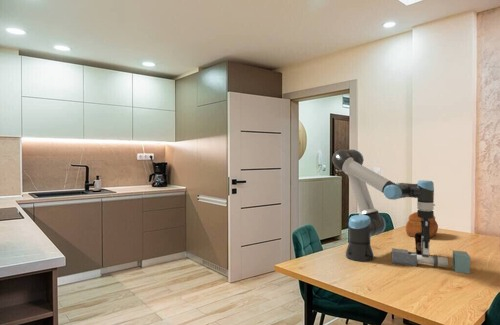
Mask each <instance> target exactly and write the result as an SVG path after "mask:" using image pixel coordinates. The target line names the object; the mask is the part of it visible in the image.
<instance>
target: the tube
mask: <svg viewBox="0 0 500 325" xmlns="http://www.w3.org/2000/svg"><path fill="white" fill-rule="evenodd" d="M422 240H424V238H422ZM411 255H415V254H411ZM448 259H449V258H448V257H440V256H438V255H437V254H434V255H432V256H431V255H430V254H429V255H426V254H423V242H422V255H417V264H418V263H419V264H427V265H433V267H438V266H445V267H448V266H449V263H448V262H449V261H448Z"/></svg>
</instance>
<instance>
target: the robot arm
mask: <svg viewBox="0 0 500 325" xmlns="http://www.w3.org/2000/svg"><path fill="white" fill-rule="evenodd" d="M331 160H332V164H333V166H334V167H335V168H337V169H338V170H340V171H341V172H343V173H344V174H345V175H347V176H348V179H349V182H350V186H351V189H352V191H353V194H354V198H355V200H356V204H357V207H358V209H359V213H358V214H355V215H351V216H350V217H349V219H348V244H347V247H346V250H345V258H347V259H348V260H352V261H355V262H370V261H373V260H374V258H375V257H374V256H375V255H374V252H373V249H372V246H371V237H374V236H378V235H379V234H382V233H383V232H384V231H385V229H386V226H387V225H386V224H387V223H386V220H385V218H384V217H383V216H382V215H381V214H379V210H378V209H376V208H375V207H374V204H373V201H372V198H371V195H370V192H369V190H368V188H369V187H368V185H369V186H371V187H372V188H374V189H375V190H378V191H380V192H381V193H382V194H383V195H384V196H385V198H386V199H388V200H394V201H395V200H400V199H402V198H403V199H405V198H413V199H417V202H416V203H417V204H416V205H417V211H416V212H417V216H418V217H420V218H422V220H421V227H422V230H421V233H422V234H421V235H423V236H422V237H421V248H422V242H423V254H426V255H429V256H430V241H431V237H430V235H429V229H430V222H429V221H428V219H429V218H430V219H431V218H433V217H434V216H435V213H434V209H435V208H434V207H436V204H435V202H434V199H435V198H434V197H435V186H434V185H435V184H434V181H432V180H428V179H427V180H425V179H424V180H421V179H420V180H417V183H409V182H408V183H407V182H397V183H395V182H394V181H391V180H390V179H388V178H386V177H384V176H383V175H380V174H379V173H378V172H375V171H374V170H372V169H370V168H368V167H367V166H364V165H363V163H364V155H363V153H361V152H360V151H359V150H357V149H339V150H337V151H335V152H334V153H333V154H332V157H331ZM422 238H424V240H422Z"/></svg>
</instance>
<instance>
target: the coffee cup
mask: <svg viewBox="0 0 500 325" xmlns="http://www.w3.org/2000/svg"><path fill="white" fill-rule="evenodd" d="M421 234H422V233H421V232H418V233H416V234H415V237H414V242H415V252H416V255H422V248H421V237H422V236H423V235H421ZM430 238H432V237H431V236H430Z"/></svg>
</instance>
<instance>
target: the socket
mask: <svg viewBox="0 0 500 325" xmlns="http://www.w3.org/2000/svg"><path fill="white" fill-rule="evenodd" d="M452 269H453V271H454V273H457V274H458V273H460V274H465V275H466V274H468V275H470V274H471V256H470V255H469V253H468V252H467V251H463V250H452Z"/></svg>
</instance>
